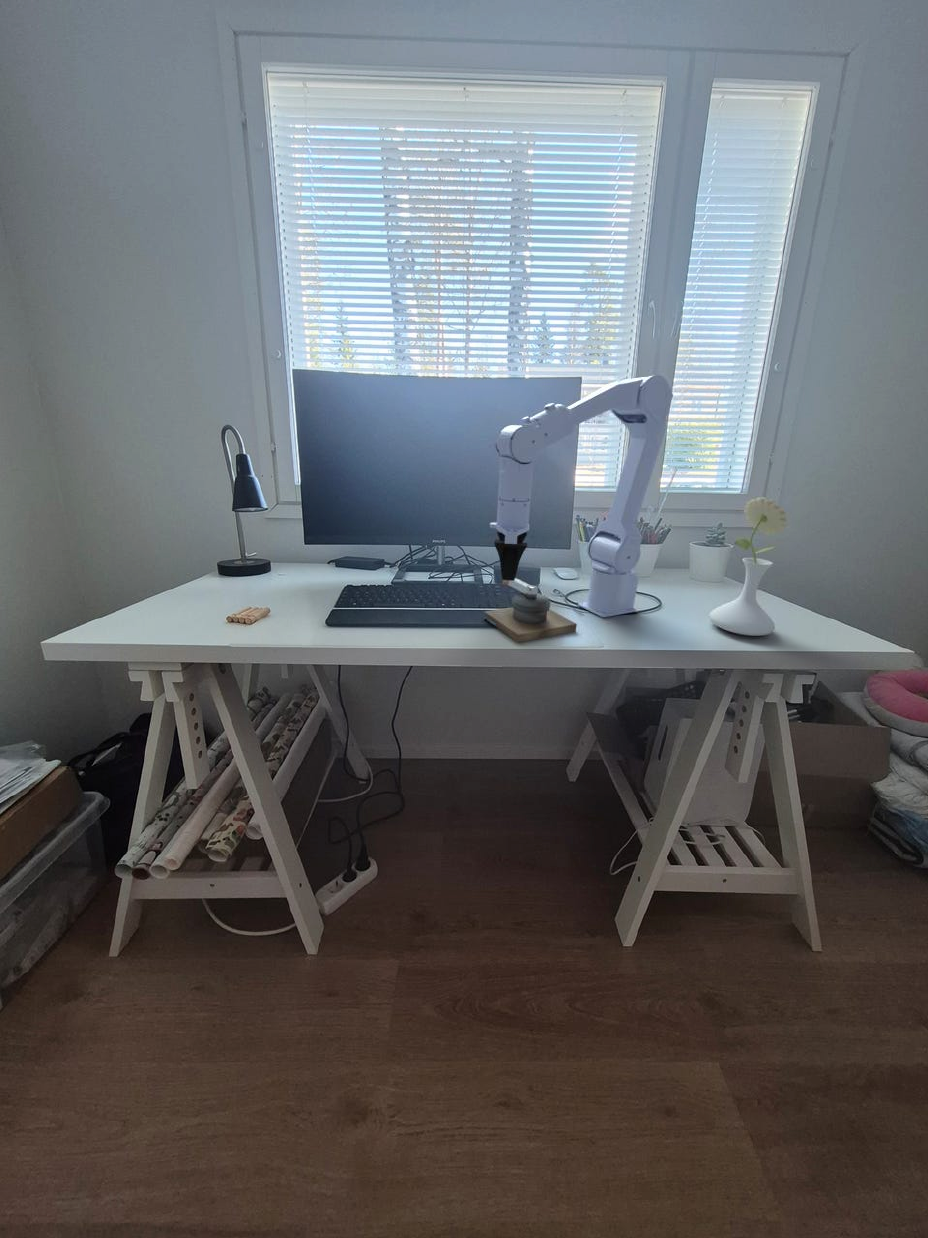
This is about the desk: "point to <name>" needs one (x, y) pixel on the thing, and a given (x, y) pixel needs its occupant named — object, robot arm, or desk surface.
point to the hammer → (523, 588)
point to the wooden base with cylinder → (530, 619)
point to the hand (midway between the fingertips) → (508, 573)
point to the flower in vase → (752, 575)
